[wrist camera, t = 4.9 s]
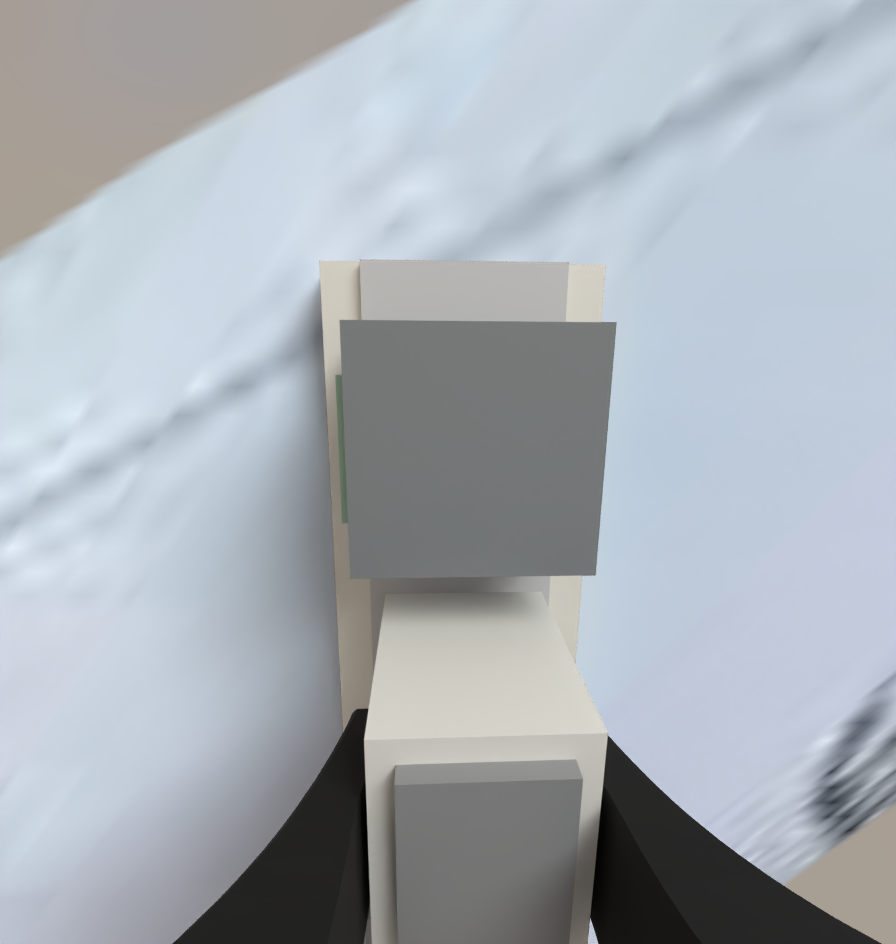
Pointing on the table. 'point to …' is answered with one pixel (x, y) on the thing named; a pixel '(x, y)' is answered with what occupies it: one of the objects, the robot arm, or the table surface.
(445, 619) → the module block
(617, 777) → the robot arm
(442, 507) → the board
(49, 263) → the table surface
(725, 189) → the table surface
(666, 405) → the table surface
